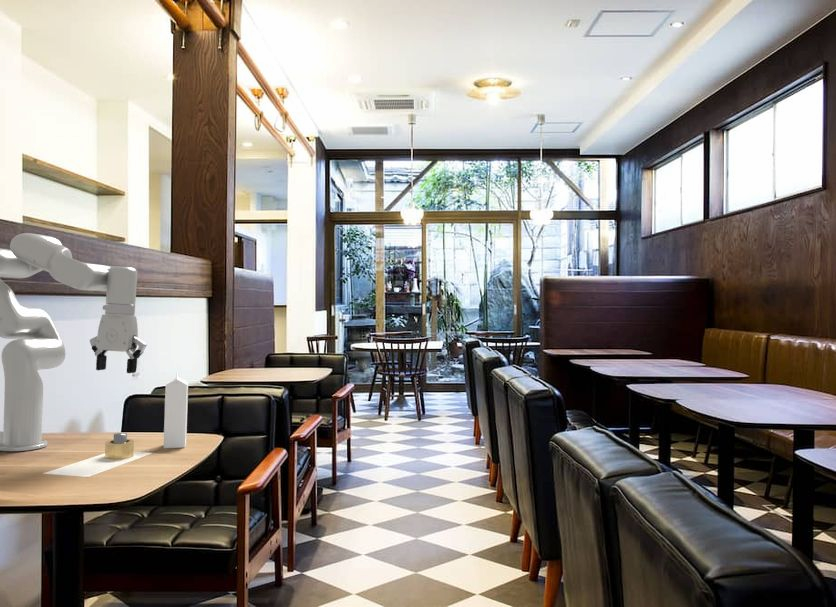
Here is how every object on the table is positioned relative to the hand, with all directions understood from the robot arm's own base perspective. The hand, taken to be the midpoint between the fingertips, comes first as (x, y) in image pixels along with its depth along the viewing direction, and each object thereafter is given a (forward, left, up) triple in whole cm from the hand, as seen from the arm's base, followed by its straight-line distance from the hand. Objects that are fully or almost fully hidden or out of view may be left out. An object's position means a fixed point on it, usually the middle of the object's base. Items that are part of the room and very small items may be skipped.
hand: (116, 371), depth 175 cm
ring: (+6, -6, -22) cm, 24 cm away
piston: (+6, -6, -22) cm, 24 cm away
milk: (+9, +16, -24) cm, 30 cm away
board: (+6, -13, -24) cm, 28 cm away
